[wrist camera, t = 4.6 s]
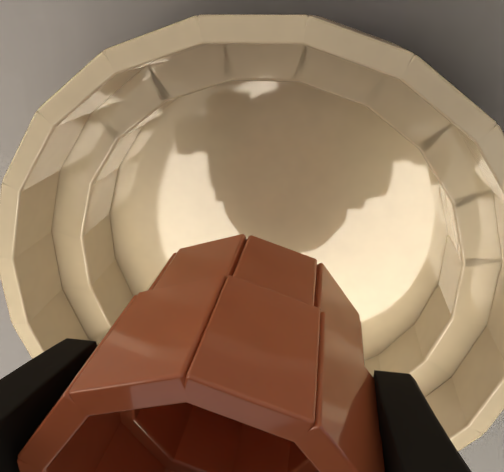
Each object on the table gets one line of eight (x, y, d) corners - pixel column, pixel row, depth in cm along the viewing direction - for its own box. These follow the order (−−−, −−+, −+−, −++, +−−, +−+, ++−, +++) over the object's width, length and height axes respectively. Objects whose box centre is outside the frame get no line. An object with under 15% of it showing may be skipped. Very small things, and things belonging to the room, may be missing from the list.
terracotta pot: (379, 234, 9) (412, 400, 5) (354, 438, 12) (363, 665, 8) (124, 217, 10) (-16, 352, 6) (147, 413, 12) (56, 606, 8)
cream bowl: (542, 14, 12) (642, 14, 8) (450, 417, 17) (483, 531, 13) (45, 14, 14) (-66, 14, 10) (104, 378, 19) (47, 469, 15)
